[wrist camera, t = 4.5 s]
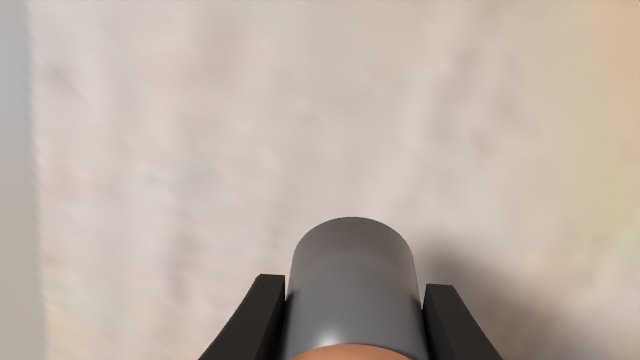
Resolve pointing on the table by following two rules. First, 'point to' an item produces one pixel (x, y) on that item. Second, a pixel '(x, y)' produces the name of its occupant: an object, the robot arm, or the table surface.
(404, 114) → the table surface
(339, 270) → the orange-topped grey cylinder
